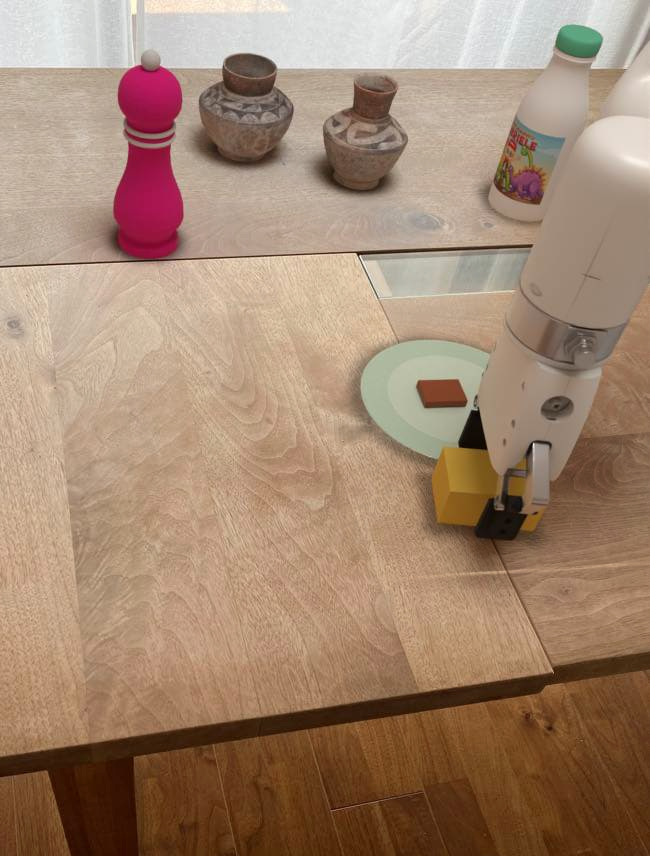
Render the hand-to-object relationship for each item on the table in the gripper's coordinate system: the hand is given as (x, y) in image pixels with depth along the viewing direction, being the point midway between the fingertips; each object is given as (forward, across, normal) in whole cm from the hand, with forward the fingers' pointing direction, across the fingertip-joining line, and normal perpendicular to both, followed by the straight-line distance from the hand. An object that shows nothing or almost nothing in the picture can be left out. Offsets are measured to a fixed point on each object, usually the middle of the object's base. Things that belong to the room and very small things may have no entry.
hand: (484, 490), depth 72 cm
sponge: (+3, 0, 0) cm, 3 cm away
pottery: (+3, +54, +15) cm, 56 cm away
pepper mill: (+3, +34, +31) cm, 46 cm away
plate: (+3, +13, +1) cm, 14 cm away
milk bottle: (+3, +50, -12) cm, 52 cm away
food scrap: (+2, +13, +2) cm, 13 cm away
